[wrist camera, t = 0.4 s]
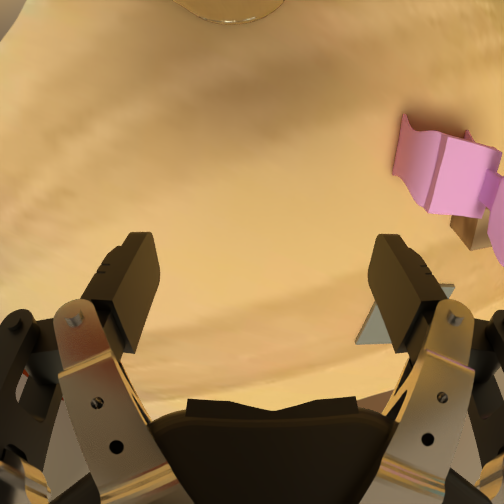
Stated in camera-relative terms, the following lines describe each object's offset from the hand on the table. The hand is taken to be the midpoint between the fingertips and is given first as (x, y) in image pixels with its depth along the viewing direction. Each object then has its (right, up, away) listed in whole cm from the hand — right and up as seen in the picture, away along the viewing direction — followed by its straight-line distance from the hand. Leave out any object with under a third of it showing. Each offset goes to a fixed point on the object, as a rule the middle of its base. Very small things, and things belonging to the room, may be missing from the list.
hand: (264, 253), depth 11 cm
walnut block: (+25, +6, +17) cm, 31 cm away
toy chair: (+17, +10, +14) cm, 24 cm away
